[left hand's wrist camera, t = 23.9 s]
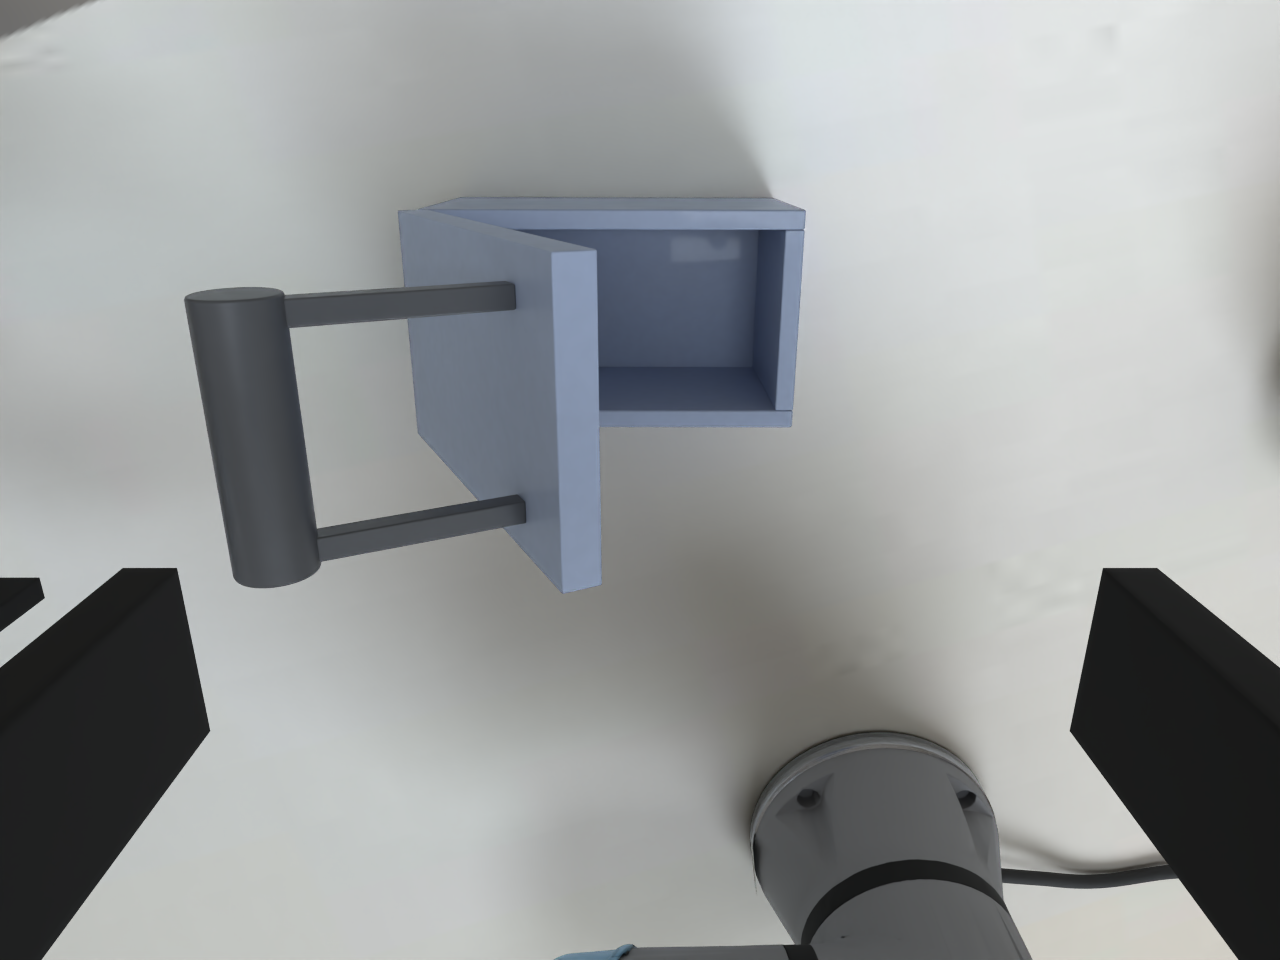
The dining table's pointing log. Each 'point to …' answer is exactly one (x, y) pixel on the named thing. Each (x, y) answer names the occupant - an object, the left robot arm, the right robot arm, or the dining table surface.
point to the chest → (680, 301)
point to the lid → (421, 401)
